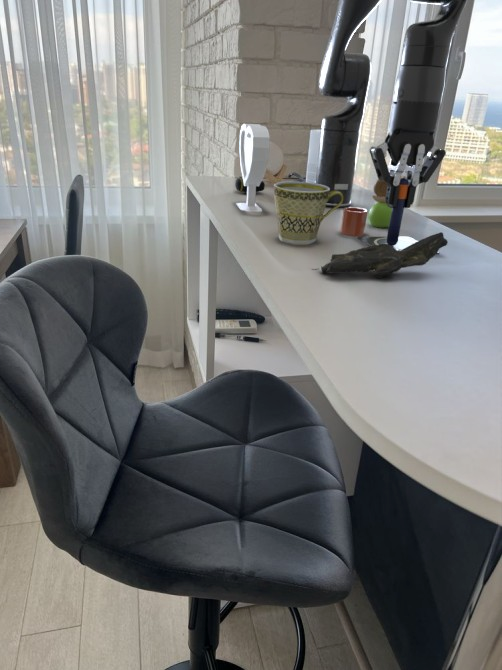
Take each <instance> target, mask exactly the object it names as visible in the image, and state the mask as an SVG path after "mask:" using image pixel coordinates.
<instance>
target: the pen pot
mask: <svg viewBox="0 0 502 670" xmlns="http://www.w3.org/2000/svg"><path fill="white" fill-rule="evenodd" d="M368 213H369V210H367V209H366V208H363V207H356V206H346V207H343V212H342V219H341V227H340V233H341V234H342V235H344V236H348V237H364V235H365V231H366V224H367V219H368Z"/></svg>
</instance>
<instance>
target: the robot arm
mask: <svg viewBox="0 0 502 670" xmlns="http://www.w3.org/2000/svg"><path fill="white" fill-rule="evenodd" d="M409 1H410V2H412V3H415V4H416V3H417V4H430V5H439V10H438V12H437V13H436V15H435V16H434V17H433V18H432V19H430V20H423V21H419V22H415V23H412V24H410V25H408V28H407V29H406V30H405V34H404V38H403V45H402V50H401V51H402V53H401V56H400V57H401V58H400V64H399V65H400V66H399V69H398V72H397V76H396V80H395V84H394V85H395V86H394V90H393V97H392V105H391V109H390V117H389V121H388V122H389V123H388V133H387V135H386V137H385V139H384V142H382V143H381V144H379V145H377V146H371V147H370V148H369V155H370V159H371V161H372V163H373V167H374V170H375V173H376V177H377V180H378V179H379V180H382V181H384V182H386V183H387V192H386V198H385V202H386V203H387V206H388V207H390V208H396V206H397V200H398V195H399V189H400V187H399V186H398V185H399V183H400V179H401V176H403V173H404V172H405V171H406V173H405V176H406V179H407V180H408V183H409V186H408V191H407V197H406V200H405V206H404V209H410V208H411V206H413V204H414V201H415V196H416V192H417V188H418V186H419V185H420V184H423V183H425V184H427V182H429V180H430V179H431V177H432V176H433V174H434V173H435V171H436V170H437V168H438V167H439V166H440V164H441V162H442V161H443V159H444V158H445V157H446V154H447V151H446V150H445V149H441V148H439V147H438V146H437V145H435V139H434V134H435V132H436V129H437V125H438V121H439V115H440V110H441V105H442V100H443V97H444V89H445V84H446V82H445V81H446V72H447V71H446V70H447V65H448V61H449V56H450V50H451V46H452V41H453V37H454V35H455V31H456V29H457V26H458V24H459V21H460V19H461V16H462V14H463V11H464V10H465V7H466V5H467V2H469V1H468V0H409ZM381 2H382V0H338V2H337V6H336V7H337V8H336V12H335V17H334V19H333V24H332V27H331V31H330V34H329V37H328V40H327V45H326V48H325V51H324V54H323V59H322V62H321V65H320V69H319V76H318V90H319V93H320V94H321V96H323V97H325V98H332V99H333V98H335V99H347V100H346V103H345V105H344V106H343V107H342V108H340V109H338V110H336V111H334V112H330V113H328V114H325V115H324V116H323V117H322V119H321V124H320V130H321V134H320V144H319V154H318V163H317V173H316V181H315V183H316V184H321V185H325V186H327V187H329V188H330V192H331V191H340V192H341V193H342V194H343V202H342V204H341V205H340V206H339V207H338V208H346V207H350V206H351V204H352V194H353V193H352V192H353V187H354V179H355V173H356V172H355V171H356V165H357V157H358V150H359V143H360V135H361V127H362V122H363V119H364V114H365V108H366V102H367V97H368V91H369V86H370V80H371V75H372V74H371V73H372V63H371V59H370V57H369V55H367V54H365V53H358V52H346V50H347V47H348V45H349V42H350V40H351V39H352V37H353V35H354V33H355V32H356V31H357V29H358V28H359V27H360V26H361V24H363V22H364V21H365V20H366V19H367V18H368V17H369V16H370V15H371V14H372V13H373V11H374V10H375V9H376V8H377V7H378V6H379V4H381ZM387 153H388V156H389V157H390V159H389V163H388V164H387V161H386V157H387ZM425 157H427V158H426V159H425ZM424 159H425V161H424ZM291 173H292V172H291ZM293 176H294V177H296V178H298V179H295V180H293V181H294V182H304V178H303V177H302V176H301V174H299V173H297V172H294V171H293V173H292V175H290V173H288V174H287V178H292V177H293ZM340 201H341V196H340V195H339V194H335V195H333V196H331V197H330V198H329V200H328V201H327V203H326V206H325V207H332V208H333V207H335V206H336V205H338V204H339V203H340Z"/></svg>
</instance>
